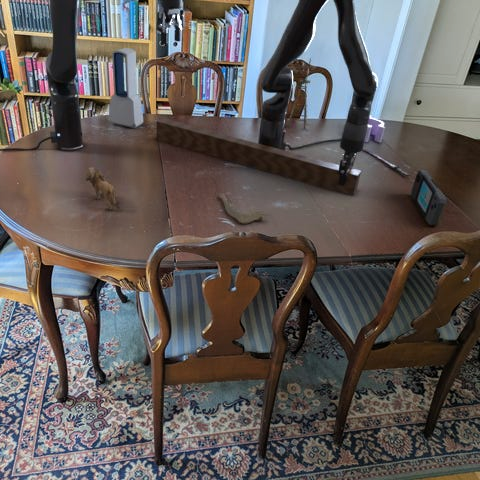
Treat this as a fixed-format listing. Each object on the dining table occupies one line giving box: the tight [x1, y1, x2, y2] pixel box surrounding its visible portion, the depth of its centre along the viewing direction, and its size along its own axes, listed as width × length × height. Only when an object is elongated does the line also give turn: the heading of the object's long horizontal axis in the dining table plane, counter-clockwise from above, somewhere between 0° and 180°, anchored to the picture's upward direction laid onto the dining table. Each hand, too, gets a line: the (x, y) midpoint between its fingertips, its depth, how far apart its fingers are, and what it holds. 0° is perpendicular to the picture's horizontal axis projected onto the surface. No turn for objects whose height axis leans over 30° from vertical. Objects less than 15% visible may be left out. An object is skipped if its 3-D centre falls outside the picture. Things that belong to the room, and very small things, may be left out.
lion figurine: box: [82, 167, 121, 211], centre depth 139 cm, size 15×5×9 cm, turn 50°
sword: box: [362, 148, 410, 177], centre depth 189 cm, size 31×3×1 cm, turn 26°
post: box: [156, 117, 362, 197], centre depth 174 cm, size 81×5×8 cm, turn 64°
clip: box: [364, 114, 386, 143], centre depth 214 cm, size 20×12×7 cm, turn 11°
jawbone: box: [218, 193, 271, 225], centre depth 143 cm, size 9×20×2 cm, turn 50°
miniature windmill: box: [286, 57, 312, 130], centre depth 210 cm, size 9×8×30 cm
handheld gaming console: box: [410, 169, 447, 227], centre depth 153 cm, size 23×3×10 cm, turn 178°
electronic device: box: [108, 47, 144, 129], centre depth 190 cm, size 12×8×30 cm, turn 71°
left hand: (171, 42), depth 168 cm, fingers open, 8 cm apart
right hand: (343, 181), depth 163 cm, fingers closed on post, 4 cm apart
